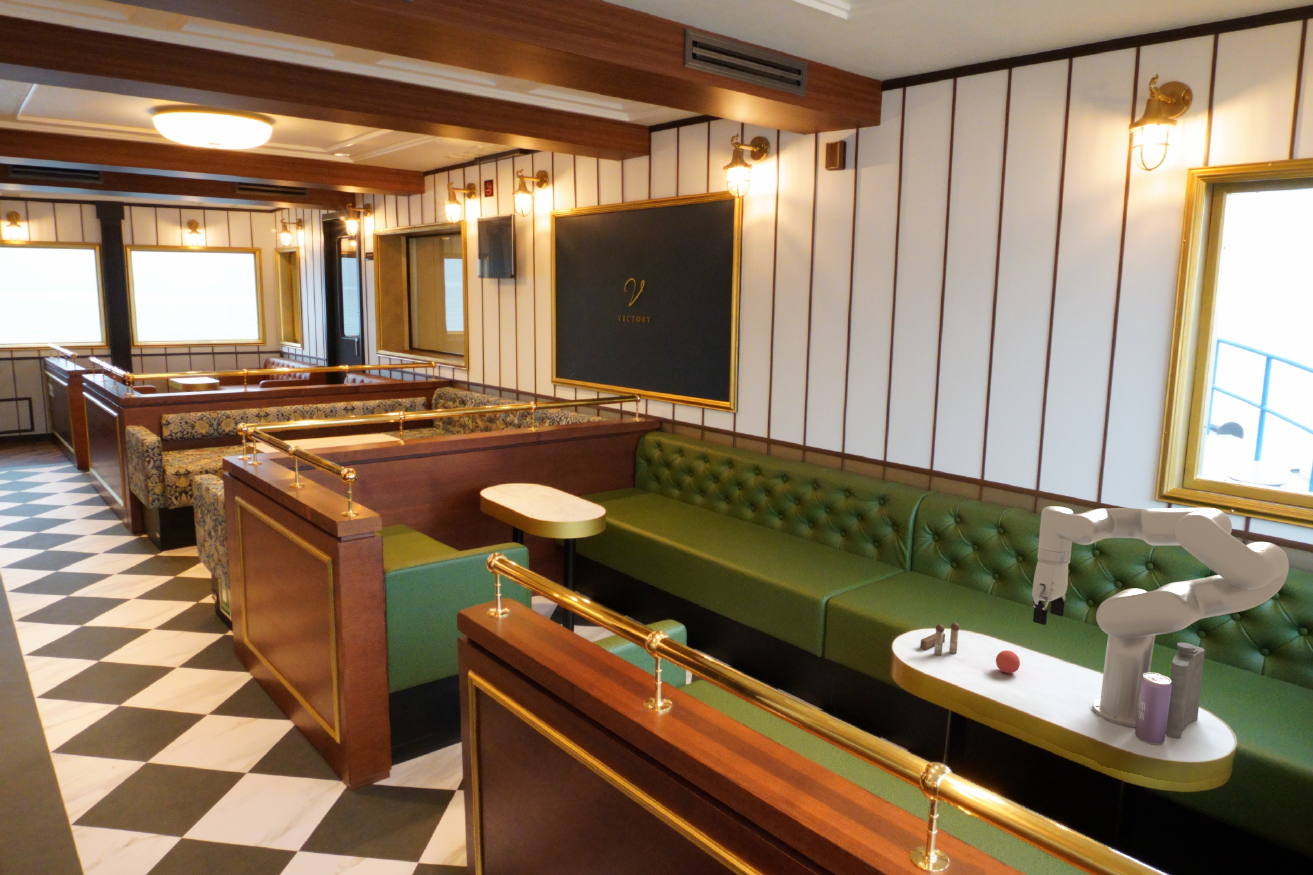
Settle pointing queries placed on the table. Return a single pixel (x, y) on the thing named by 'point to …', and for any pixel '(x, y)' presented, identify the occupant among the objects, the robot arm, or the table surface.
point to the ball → (1007, 661)
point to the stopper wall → (929, 642)
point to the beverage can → (1153, 708)
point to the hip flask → (1184, 688)
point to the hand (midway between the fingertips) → (1048, 618)
